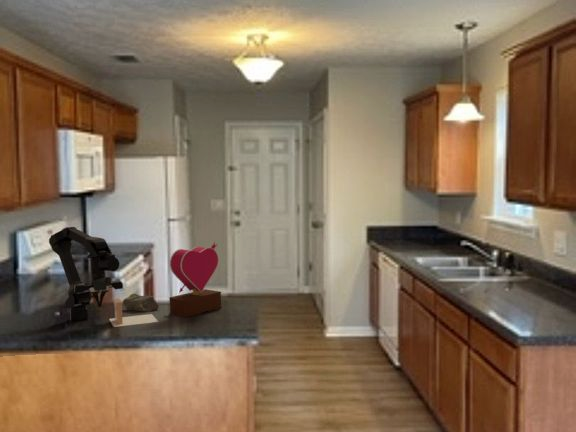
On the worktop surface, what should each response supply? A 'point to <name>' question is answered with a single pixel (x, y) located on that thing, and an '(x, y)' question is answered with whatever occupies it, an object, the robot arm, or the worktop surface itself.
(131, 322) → the beige mat
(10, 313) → the worktop surface
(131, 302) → the rock
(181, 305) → the heart arrow ornament
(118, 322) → the terracotta tile
